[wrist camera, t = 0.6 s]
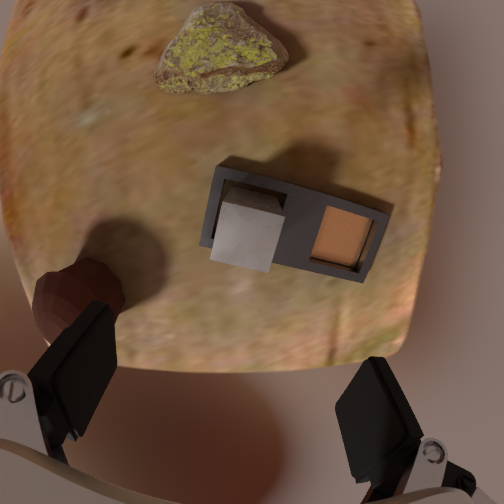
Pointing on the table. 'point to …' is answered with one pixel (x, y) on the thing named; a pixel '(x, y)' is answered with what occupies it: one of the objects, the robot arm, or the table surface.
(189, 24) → the rock
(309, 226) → the dark grey slotted tray
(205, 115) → the table surface
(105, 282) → the muffin
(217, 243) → the silver rectangular block
